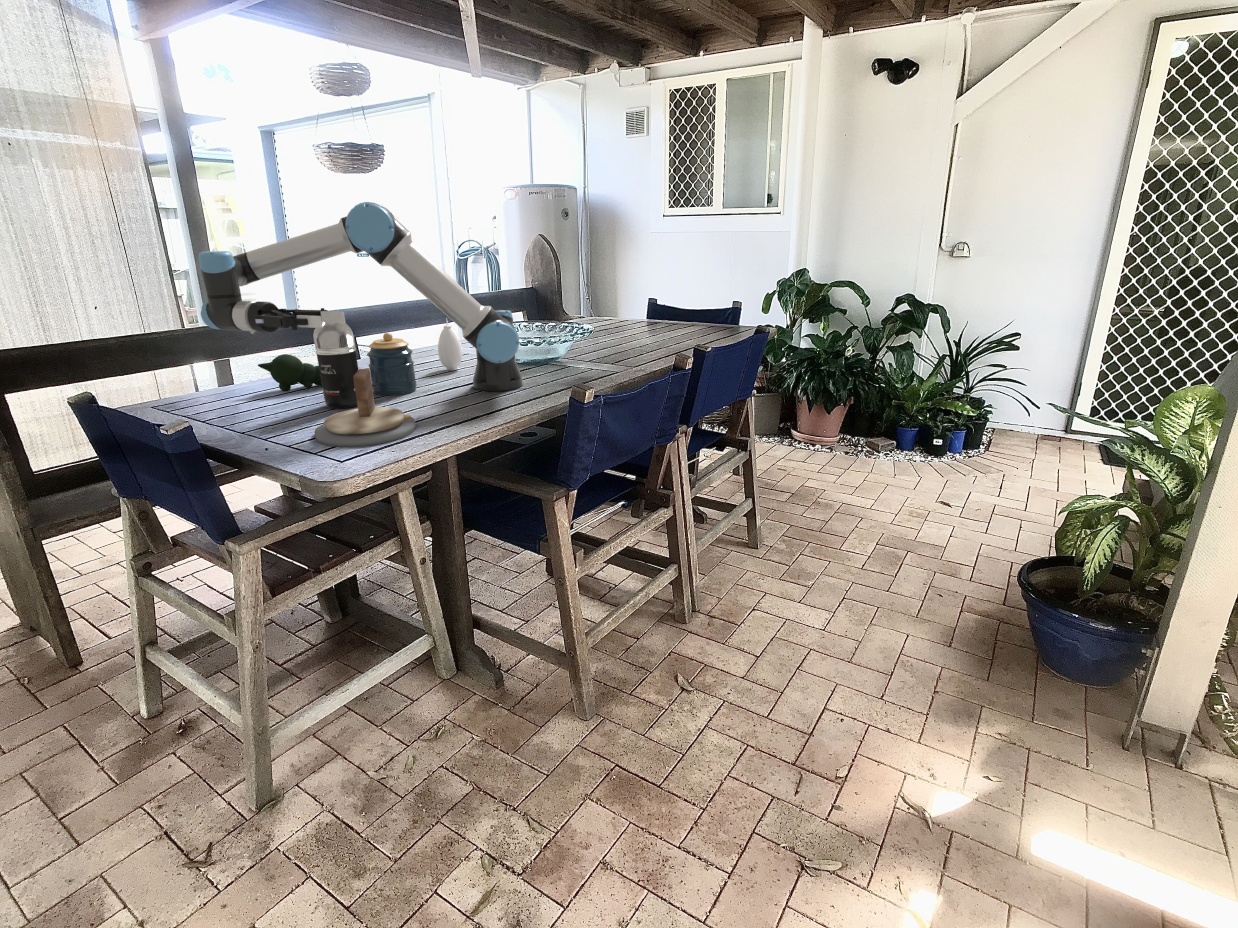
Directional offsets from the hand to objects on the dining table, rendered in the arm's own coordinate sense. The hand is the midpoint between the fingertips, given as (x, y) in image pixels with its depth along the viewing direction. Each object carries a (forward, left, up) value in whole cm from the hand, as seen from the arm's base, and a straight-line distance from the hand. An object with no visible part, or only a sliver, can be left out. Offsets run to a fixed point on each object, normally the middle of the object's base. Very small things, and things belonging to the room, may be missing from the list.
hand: (332, 319), depth 156 cm
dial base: (-6, +9, -26) cm, 28 cm away
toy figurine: (+19, -44, -26) cm, 55 cm away
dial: (-6, +9, -24) cm, 26 cm away
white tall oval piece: (-24, -60, -26) cm, 70 cm away
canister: (-8, -33, -26) cm, 43 cm away
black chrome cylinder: (+4, -19, -26) cm, 33 cm away
